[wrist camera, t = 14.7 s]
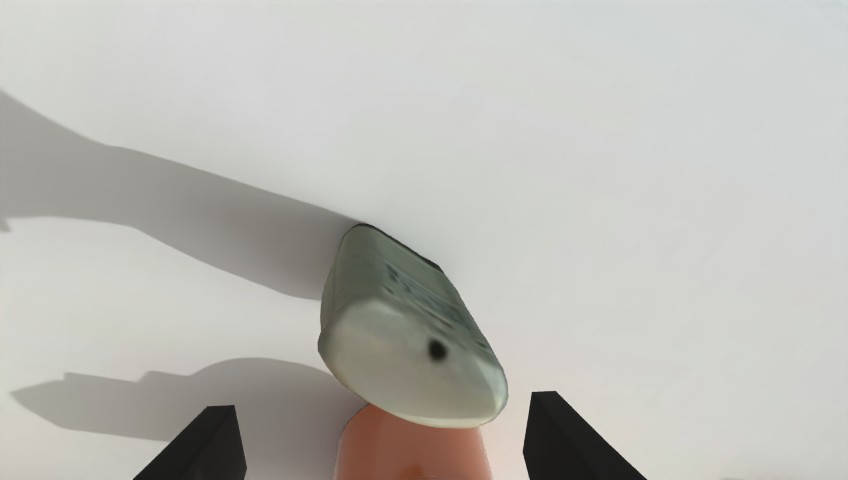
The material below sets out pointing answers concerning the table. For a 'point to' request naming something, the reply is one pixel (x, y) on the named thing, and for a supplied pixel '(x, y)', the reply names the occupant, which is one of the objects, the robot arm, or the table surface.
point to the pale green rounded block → (406, 336)
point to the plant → (408, 450)
